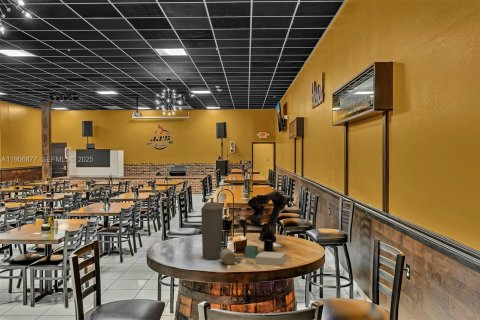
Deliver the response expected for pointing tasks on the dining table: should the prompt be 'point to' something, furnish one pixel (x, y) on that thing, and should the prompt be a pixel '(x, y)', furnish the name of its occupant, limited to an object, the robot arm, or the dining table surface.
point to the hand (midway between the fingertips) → (251, 238)
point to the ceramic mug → (228, 257)
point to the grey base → (270, 258)
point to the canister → (211, 230)
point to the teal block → (251, 251)
